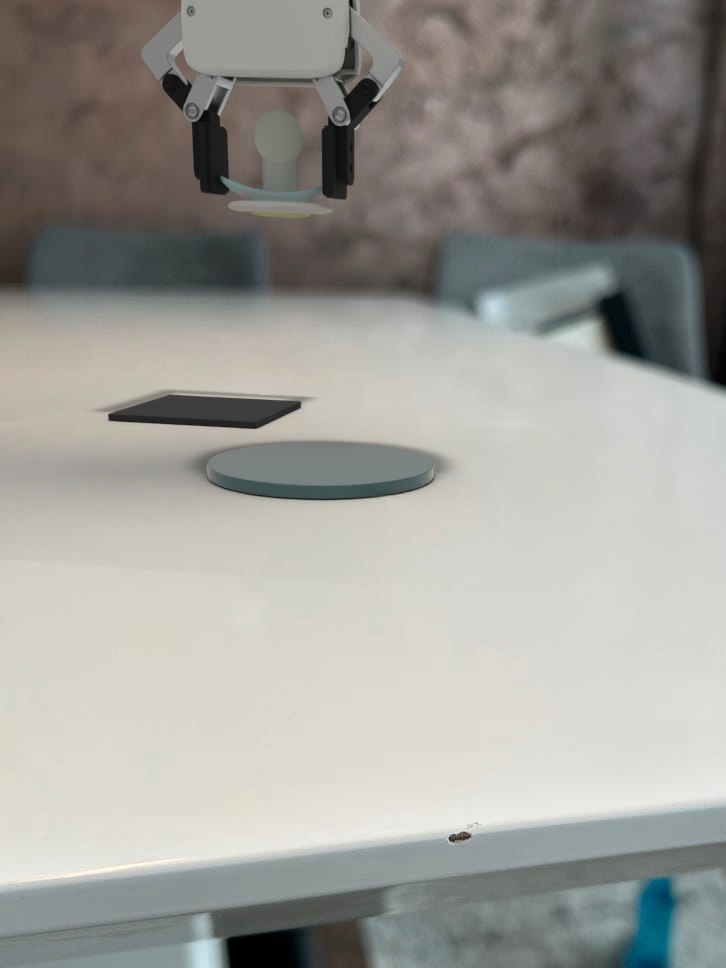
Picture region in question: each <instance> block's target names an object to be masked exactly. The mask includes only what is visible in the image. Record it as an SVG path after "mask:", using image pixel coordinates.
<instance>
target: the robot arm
mask: <svg viewBox="0 0 726 968" xmlns="http://www.w3.org/2000/svg"><path fill="white" fill-rule="evenodd" d="M360 1H361V0H180V2H181V3H180V10H179V11H178V12H177V13H176V14H175V15H174V16H173V17H171V18H170V20H168V22H167V23H166V24H165V25H164V26H163V27H162V28H161V29H160V30H159V31H157V33H156V34H155V35H154V36H153V37H152V38H151V39H150V40H148V42H147V43H146V44H145V45H143V47H142V49H141V50H140V56H141V59H142V61H143V62H144V64H145V65H146V67H147V68H148V69H149V71H150V72H151V73H152V75H154V77H155V79H156V80H157V81H158V82H159V83H160V84H161V87H162V89H163V91H164V93H166V95H167V96H168V97H169V98H170V99H171V100H172V101H173V103H174V104H175V105H176V106H177V108H179V109H180V110H181V112H182V114H183V117H184V118H185V119H186V120H187V121H188V122H190V123H191V138H192V140H191V141H192V162H193V165H192V166H193V173H194V177H195V179H196V180H198V181H199V190H200V192H201V193H202V194H209V195H217V196H226V195H227V194H228V193H229V192H230V189H229V188H228V187H227V186H226V185H225V184H224V183H223V182H222V181H221V180H220V175H221V176H223V177H225V178H227V179H229V180H230V172H229V171H230V170H229V168H230V167H229V139H228V135H229V134H228V130H227V129H226V127H225V126H222V125H221V116H222V113H223V110H224V109H225V106H226V103H227V101H228V99H229V97H230V95H231V93H232V91H233V88H234V86H235V85H237V86H253V87H254V86H255V87H257V86H258V87H293V88H315V89H316V91H317V93H318V95H319V97H320V99H321V102H322V104H323V106H324V108H325V110H326V112H327V115H328V116H327V125H326V124H325V125H323V127H322V129H321V186H322V193H323V195H324V196H325V198H327V199H333V200H341V201H342V200H343V201H345V200H347V198H348V186H350V187H351V186H353V185H354V183H355V131H357V130H358V129H359V128H360V126H361V124H362V122H363V121H364V119H365V118H366V117H367V116H368V115H369V114H370V113H371V112H372V110H374V108H375V107H376V106H377V105H378V104H379V103H380V102H381V101H382V99H383V96H384V94H385V93H386V91H387V90H389V88H390V87H391V85H392V84H393V83H394V81H395V80H396V79H397V77H398V76H399V74H400V73H401V72H402V70H403V69H404V67H405V65H406V64H405V63H406V62H405V57H404V56H403V55H402V54H401V53H400V52H399V51H398V50H397V49H396V48H395V47H394V46H393V44H391V43H390V42H389V41H388V40H387V39H385V38H384V37H383V36H382V35H381V33H380V32H379V31H377V30H376V29H375V28H374V27H373V26H372V25H371V24H370V23H369V21H367V20H366V19H365V18H364V17H362V15H361V3H360ZM363 50H364V52H365V53H367V54H368V56H369V57H370V58H371V66H370V68H369V70H368V71H367V73H366V75H365V76H364V78H362V79H361V80H360V81H359V82H358V83H357V84H356V85H354V87H353V88H352V89H351V90H350V91H349V88H348V86H347V85H350V84H352V83H353V82H355V81H356V80H357V79H358V78H359V77H360V74H361V70H362V63H363V62H362V61H363ZM182 51H183V56H184V60H185V62H186V64H187V66H189V68H191V70H193V71H195V72H197V74H196V76H195V79H194V81H193V83H191V82H190V80H188V79H187V78H186V77H185V76H184V75H183V74H182V73H183V72H181V70H180V68H179V66H178V64H177V62H176V61H177V60H176V59H177V56H178V55H179V54H180V53H181V52H182ZM324 196H323V197H324Z"/></svg>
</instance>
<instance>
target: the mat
mask: <svg viewBox="0 0 726 968" xmlns="http://www.w3.org/2000/svg"><path fill="white" fill-rule="evenodd" d="M301 407H302V401H301V400H286V399H267V398H266V399H265V398H247V397H246V398H244V397H227V396H226V397H225V396H208V395H207V396H206V395H186V394H167V395H163V396H160V397H157V398H154V399H151V400H147V401H145V402H142V403H141V402H140V403H138V404H135V405H132V406H129V407H126V408H122V409H119V410H116V411H113V412H109V413H108V414H107V419H108V421H117V422H136V423H156V424H170V425H171V424H173V425H190V426H208V427H210V426H212V427H227V428H243V429H244V428H245V429H257V428H259V427H261V426H264V425H266V424H268V423H270V422H272V421H274V420H277V419H279V418H280V417H283V416H285V415H287V414H290V413H291V412H294V411H296V410H298V409H299V408H301Z"/></svg>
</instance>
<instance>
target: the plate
mask: <svg viewBox="0 0 726 968" xmlns="http://www.w3.org/2000/svg"><path fill="white" fill-rule="evenodd" d="M434 470H435V465H434V462H433V461H432V460H431V458H429V457H427V456H425V455H422V454H420V453H417V452H414V451H410V450H406V449H401V448H396V447H390V446H383V445H375V444H365V443H352V442H351V443H350V442H327V441H325V442H324V441H321V442H319V441H318V442H314V441H312V442H310V441H309V442H308V441H307V442H285V443H272V444H261V445H254V446H246V447H241V448H235V449H231V450H227V451H224V452H221V453H218V454H216V455H214V456H212V457H210V458H209V459H208V461H207V462H206V476H207V478H208V480H209V481H210V482H211V483H213V484H215V485H217V486H218V487H221V488H224V489H227V490H231V491H234V492H239V493H244V494H248V495H249V494H250V495H255V496H263V497H272V498H286V499H300V500H301V499H304V500H339V499H341V500H343V499H360V498H369V497H370V498H371V497H380V496H388V495H394V494H400V493H404V492H409V491H412V490H416V489H418V488H422V487H424V486H427V485H428V484H429V483H430V482H432V480H433V479H434V472H435V471H434Z"/></svg>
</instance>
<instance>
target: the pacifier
mask: <svg viewBox="0 0 726 968" xmlns="http://www.w3.org/2000/svg"><path fill="white" fill-rule="evenodd" d="M253 140H254V144H255V148H256V150H257V152H258V154H259V155H260V156H261V174H262V189H258V188H254V187H250V186H248V185H244V184H241V183H238V182H235V181H233V180H232V179H230V178H229V179H227V178H225V177H223V176H221V175H220V180H221V181H222V182H223V183H224V184H225V185H226V186H227V187H228V188H229V191H230V190H231V191H232V192H233V193H235V194H236V195H238V196H239V197H241V198H244V199H246V200H234V201H231V202H229V203H228V204H227V207H228V208H229V209H230V210H232V211H235V212H243V213H250V214H251V215H256V216H259V217H265V218H266V217H267V218H268V217H270V218H294V219H296V218H297V219H298V218H307V217H311V215H327V214H331V213H332V212H334V208H333V207H332V206H330V205H328V204H325V203H317V202H316V203H315V201H316V200H319V199H321V198H322V197H324V195H323V193H322V185H320V186H317V187H313V188H310V189H303V190H297V189H298V169H297V167H298V166H297V158H298V157H299V155H300V154H301V151H302V149H303V144H304V135H303V131H302V128H301V125H300V123H299V122H298V120H297V119H296V118H295V116H293V115H292V114H291V113H289V112H287V111H286V110H282V109H272V110H268V111H266V112H264V113H263V114H262V115H261V116H260V117H259V118H258V120H257V121H256V124H255V126H254V130H253Z"/></svg>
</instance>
